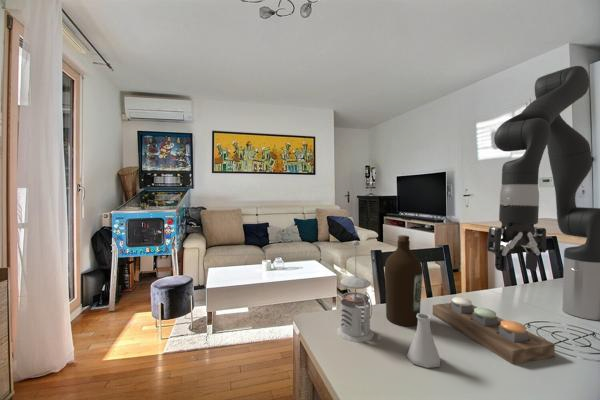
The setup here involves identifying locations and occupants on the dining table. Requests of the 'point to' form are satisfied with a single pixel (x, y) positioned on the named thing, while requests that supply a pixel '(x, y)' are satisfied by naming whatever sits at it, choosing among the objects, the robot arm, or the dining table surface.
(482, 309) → the button sage
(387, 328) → the dining table surface
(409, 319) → the olive oil
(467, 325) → the console
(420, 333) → the flask
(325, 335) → the dining table surface
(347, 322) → the french press
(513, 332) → the button orange
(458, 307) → the button cream
